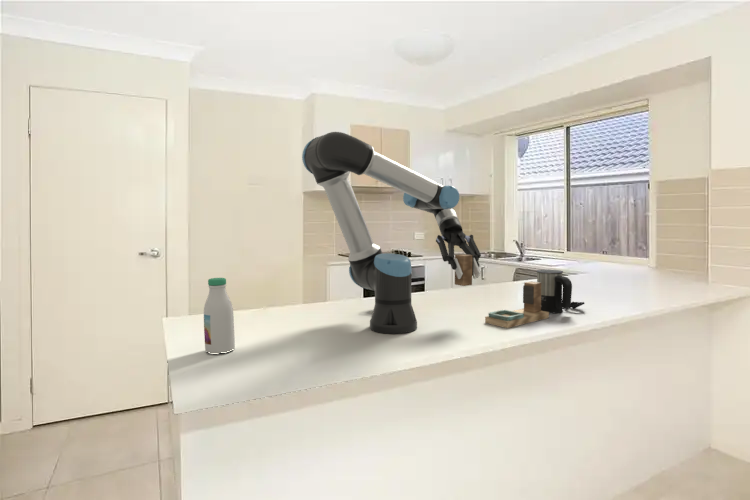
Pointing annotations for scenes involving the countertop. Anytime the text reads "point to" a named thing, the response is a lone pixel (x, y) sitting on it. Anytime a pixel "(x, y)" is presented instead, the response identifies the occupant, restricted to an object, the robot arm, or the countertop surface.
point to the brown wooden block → (465, 269)
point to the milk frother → (555, 291)
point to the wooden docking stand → (522, 315)
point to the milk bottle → (218, 318)
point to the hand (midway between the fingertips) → (469, 275)
